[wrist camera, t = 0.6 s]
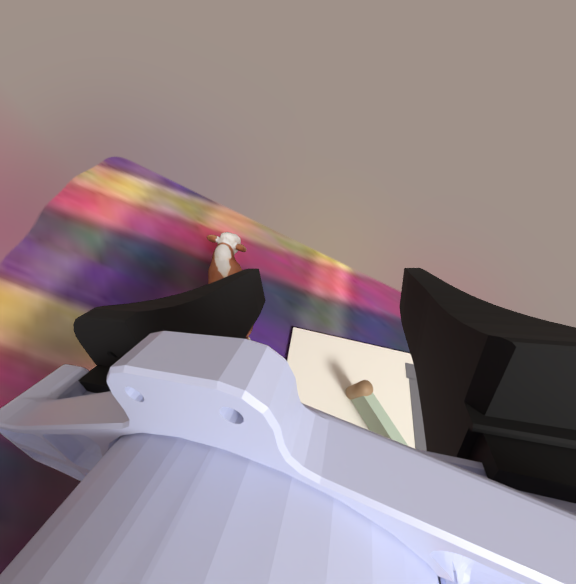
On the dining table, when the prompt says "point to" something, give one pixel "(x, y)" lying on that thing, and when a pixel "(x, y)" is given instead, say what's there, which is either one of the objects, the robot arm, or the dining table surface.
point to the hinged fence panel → (372, 411)
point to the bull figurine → (225, 258)
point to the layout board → (356, 380)
